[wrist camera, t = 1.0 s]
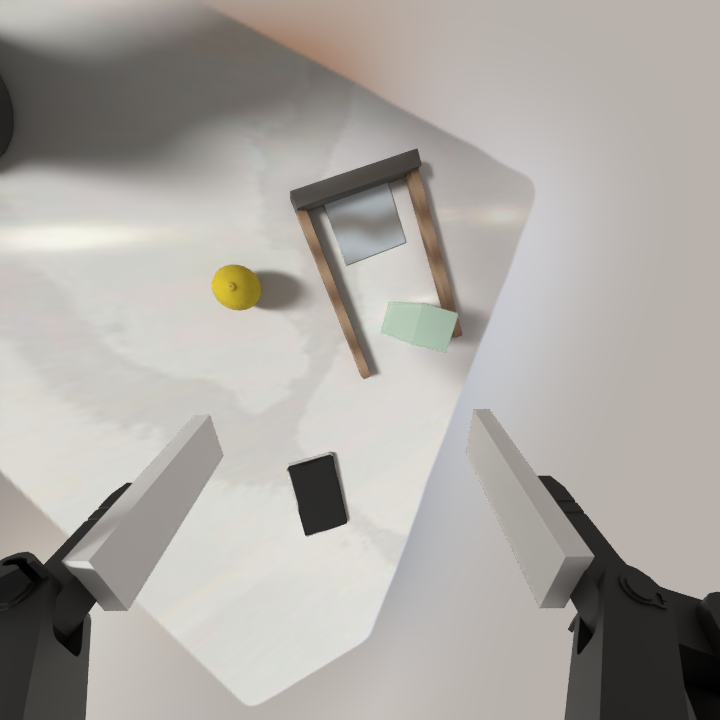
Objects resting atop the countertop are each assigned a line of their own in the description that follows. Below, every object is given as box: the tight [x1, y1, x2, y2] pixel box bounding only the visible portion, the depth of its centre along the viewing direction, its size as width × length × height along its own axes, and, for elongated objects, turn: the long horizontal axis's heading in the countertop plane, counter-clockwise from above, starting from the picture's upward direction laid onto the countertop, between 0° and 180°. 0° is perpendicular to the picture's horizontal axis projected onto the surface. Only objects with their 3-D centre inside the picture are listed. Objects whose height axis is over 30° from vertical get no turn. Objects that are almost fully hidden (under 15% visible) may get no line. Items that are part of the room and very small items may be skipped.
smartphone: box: [287, 452, 347, 537], centre depth 47 cm, size 8×1×15 cm
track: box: [290, 149, 462, 379], centre depth 40 cm, size 28×18×3 cm, turn 21°
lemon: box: [212, 265, 261, 310], centre depth 34 cm, size 6×6×8 cm
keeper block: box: [381, 302, 458, 352], centre depth 38 cm, size 5×5×12 cm
